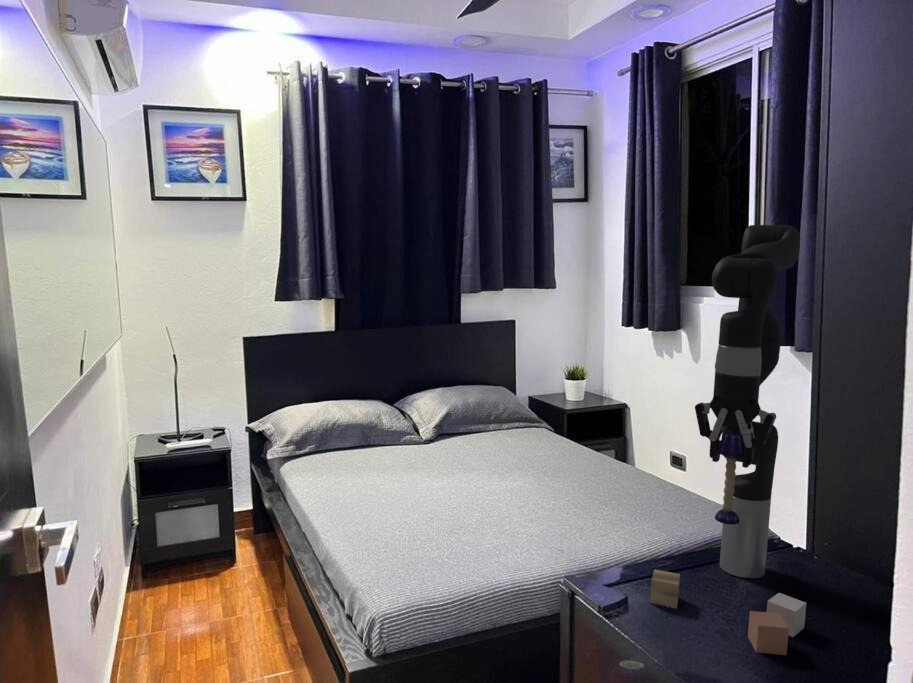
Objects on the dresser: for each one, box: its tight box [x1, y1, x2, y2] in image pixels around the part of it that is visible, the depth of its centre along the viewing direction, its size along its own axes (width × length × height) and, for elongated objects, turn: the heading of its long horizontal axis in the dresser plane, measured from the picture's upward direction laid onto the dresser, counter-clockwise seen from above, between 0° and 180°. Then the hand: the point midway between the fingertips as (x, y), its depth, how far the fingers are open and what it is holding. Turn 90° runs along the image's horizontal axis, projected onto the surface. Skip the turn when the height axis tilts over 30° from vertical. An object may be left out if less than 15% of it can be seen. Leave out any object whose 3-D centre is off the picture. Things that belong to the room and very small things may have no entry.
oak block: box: [649, 569, 681, 610], centre depth 135 cm, size 5×5×5 cm
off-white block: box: [766, 592, 807, 638], centre depth 126 cm, size 5×5×5 cm
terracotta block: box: [747, 610, 789, 656], centre depth 120 cm, size 5×5×5 cm
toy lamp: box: [714, 431, 744, 525], centre depth 124 cm, size 5×5×17 cm
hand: (730, 463), depth 124 cm, fingers closed on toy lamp, 4 cm apart
